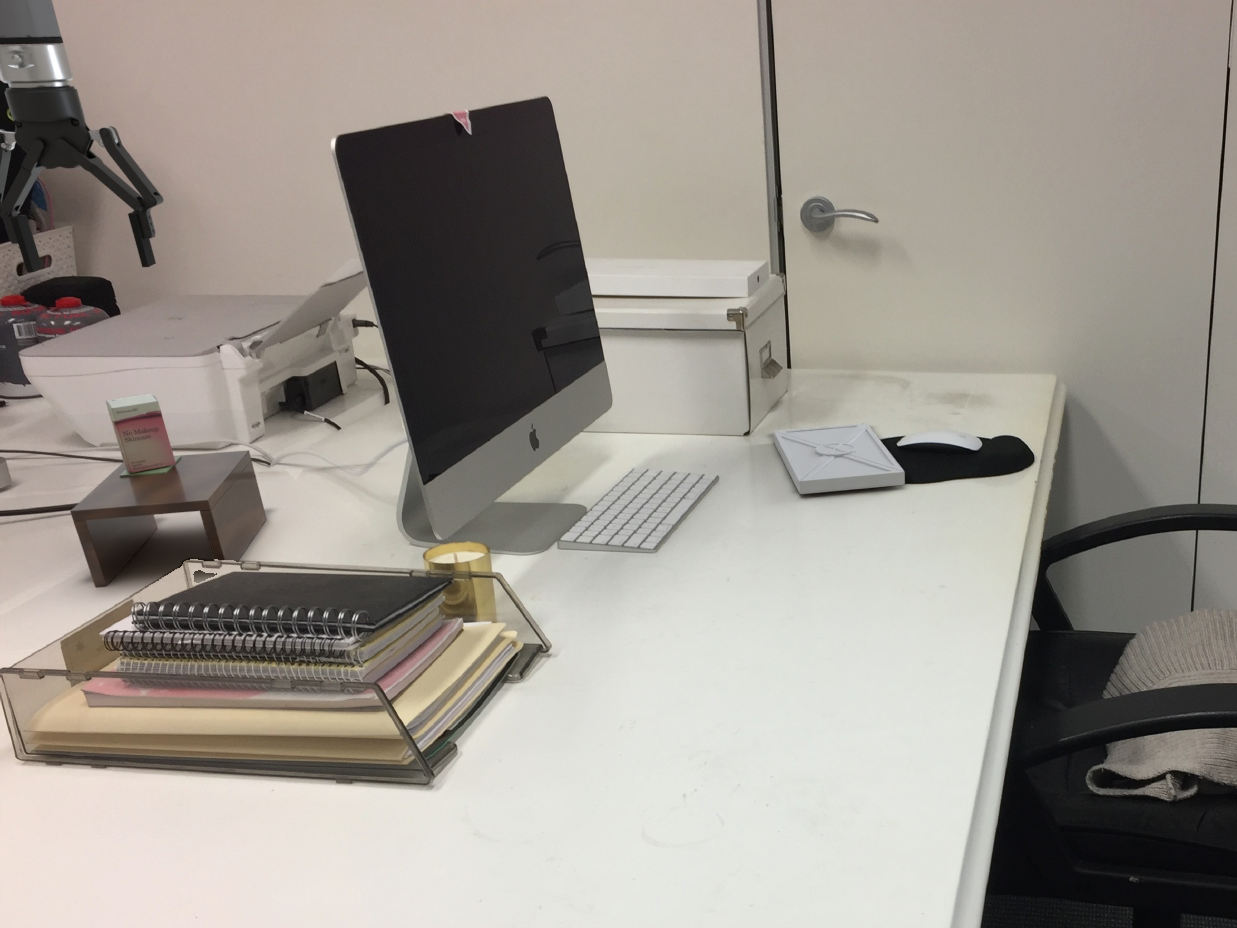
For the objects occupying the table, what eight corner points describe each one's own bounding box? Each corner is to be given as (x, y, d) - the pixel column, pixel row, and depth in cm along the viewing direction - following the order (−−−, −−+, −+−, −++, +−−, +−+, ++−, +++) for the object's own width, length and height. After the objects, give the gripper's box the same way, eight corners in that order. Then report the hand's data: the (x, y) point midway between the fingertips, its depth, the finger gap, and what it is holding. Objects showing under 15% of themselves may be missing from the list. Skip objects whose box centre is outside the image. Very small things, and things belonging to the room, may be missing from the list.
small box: (129, 474, 143) (109, 407, 139) (124, 465, 146) (104, 399, 142) (177, 465, 146) (158, 399, 142) (171, 456, 149) (152, 392, 145)
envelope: (867, 436, 181) (774, 444, 178) (866, 421, 180) (773, 429, 177) (904, 486, 159) (799, 496, 157) (904, 469, 158) (798, 479, 156)
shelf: (95, 587, 137) (69, 509, 133) (147, 529, 153) (125, 457, 149) (228, 575, 139) (207, 498, 135) (266, 519, 155) (248, 448, 151)
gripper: (-91, 89, 143) (-28, 277, 152) (139, 83, 146) (186, 268, 156) (-58, 86, 149) (0, 267, 159) (161, 81, 153) (205, 258, 162)
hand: (92, 268), depth 157 cm, fingers open, 13 cm apart
